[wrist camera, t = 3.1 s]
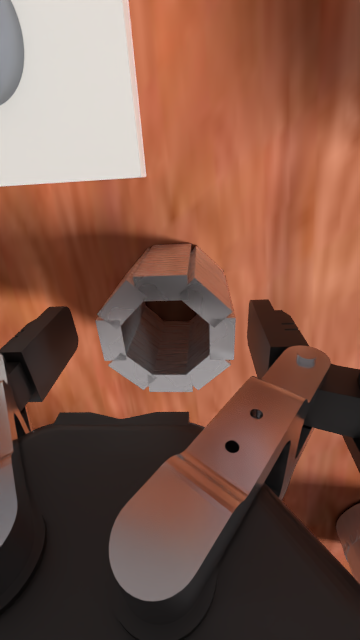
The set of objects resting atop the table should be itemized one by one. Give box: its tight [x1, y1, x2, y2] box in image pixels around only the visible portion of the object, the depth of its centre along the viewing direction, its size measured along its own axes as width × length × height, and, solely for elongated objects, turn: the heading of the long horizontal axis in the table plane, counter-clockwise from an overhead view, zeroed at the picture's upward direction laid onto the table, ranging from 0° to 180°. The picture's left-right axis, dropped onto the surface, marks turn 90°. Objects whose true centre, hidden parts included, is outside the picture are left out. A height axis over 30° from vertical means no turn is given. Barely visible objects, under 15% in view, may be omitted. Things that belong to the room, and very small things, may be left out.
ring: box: [96, 243, 235, 392], centre depth 14 cm, size 6×6×5 cm
